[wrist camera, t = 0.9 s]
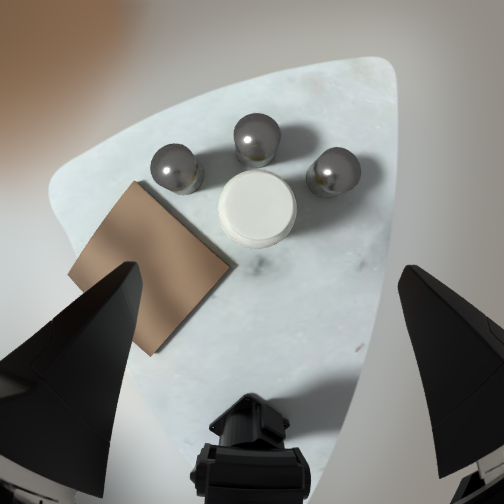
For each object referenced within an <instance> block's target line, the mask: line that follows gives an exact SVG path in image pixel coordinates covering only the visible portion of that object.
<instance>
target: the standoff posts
mask: <svg viewBox="0 0 504 504" xmlns="http://www.w3.org/2000/svg"><path fill="white" fill-rule="evenodd" d="M280 137H281V133H280V128H279V126H278V124H277V123H276V122H275V120H274V119H272V118H271V117H269V116H267V115H265V114H261V113H253V114H249V115H246V116H245V117H243V118H242V119H240V120H239V122H238V123H237V124H236V126H235V129H234V141H235V148H236V154H237V157H238V159H239V160H240V161H241V163H243V164H244V165H246V166H248V167H251V168H261V167H264V166H266V165H267V164H269V163H270V162H271V161H272V159H273V157H274V155H275V152H276V149H277V147H278V144H279V141H280ZM150 170H151V175H152V177H153V179H154V180H155V182H156V183H157V184H159V185H160V186H162V187H164V188H166V189H168V190H170V191H172V192H174V193H176V194H179V195H188V194H191V193H193V192H194V191H196V190H197V189H198V188H199V187H200V185H201V183H202V181H203V169H202V167H201V165H200V163H199V162H198V161H197V159H196V158H195V156H194V155H193V154H192V152H191V151H190V150H189V149H188V148H187V147H185V146H184V145H181V144H168V145H166V146H164V147H162V148H161V149H159V150H158V151H157V152H156V153H155V155H154V157H153V159H152V161H151V166H150ZM360 176H361V168H360V164H359V162H358V160H357V158H356V157H355V155H354V154H353V153H351V152H350V151H348V150H347V149H344V148H340V147H334V148H330V149H328V150H326V151H325V152H324V153H323V154H322V155H321V156H320V157H319V158H318V159H317V160H316V161H315V162H314V163H313V164H312V165H311V166H310V167H309V169H308V171H307V176H306V178H307V184H308V186H309V188H310V189H311V191H312V192H313V193H315V194H316V195H318V196H320V197H324V198H328V197H333V196H335V195H338V194H340V193H343V192H346V191H348V190H350V189H352V188H354V187H355V186H356V185H357V183H358V182H359V179H360Z"/></svg>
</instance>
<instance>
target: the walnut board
mask: <svg viewBox="0 0 504 504" xmlns="http://www.w3.org/2000/svg"><path fill="white" fill-rule="evenodd" d="M125 261H136V262H137V263H138V265H139V269H140V273H141V276H142V280H143V289H142V295H141V300H140V306H139V312H138V318H137V324H136V329H135V333H134V336H133V340H132V341H133V342H134V343H135V344H136V345H138V346H139V347H140V348H141V349H142V350H143V351H144V352H146V353H147V354H148V355H149V356H150V357H151V356H152V355H153V353H154V352H155V351H156V350H157V349H158V348H159V347H160V346H161V344H162V343H163V342H164V341H165V340H166V339H167V338H168V336H169V335H170V334H171V333H172V332H173V331H174V330H175V329H176V327H177V326H178V325H179V324H180V323H181V322H182V321H183V319H184V318H185V317H186V316H187V315H188V314H189V313H190V312H191V310H192V309H193V308H194V307H195V306H196V305H197V304H198V303H199V301H200V300H201V299H202V298H203V297H204V296H205V295H206V294H207V292H208V291H209V290H210V289H211V288H212V287H213V286H214V285H215V283H216V282H217V281H218V280H219V279H220V278H221V277H222V276H223V274H224V273H225V272H226V271H227V270H228V269H229V268H230V266H229V265H228V264H226V263H225V262H224V261H223V260H222V259H221V258H220V257H219V256H217V255H216V254H215V253H214V252H213V251H212V250H211V249H210V248H209V247H207V246H206V245H205V244H204V243H203V242H202V241H201V240H200V239H199V238H197V237H196V236H195V235H194V234H193V233H192V232H191V231H190V230H189V229H187V228H186V227H185V226H184V225H183V224H182V223H181V222H180V221H179V220H178V219H177V218H175V217H174V216H173V215H172V214H171V213H170V212H169V211H168V210H167V209H166V208H165V207H163V206H162V205H161V204H160V203H159V202H158V201H157V200H156V199H155V198H154V197H153V196H152V195H150V194H149V193H148V192H147V191H146V190H145V189H144V188H143V187H142V186H141V185H140V184H139V183H138V182H136V181H133V182H132V184H131V185H130V186H129V187H128V189H127V190H126V191H125V192H124V194H123V195H122V196H121V198H120V199H119V200H118V201H117V203H116V204H115V205H114V207H113V208H112V209H111V211H110V212H109V214H108V215H107V216H106V218H105V219H104V220H103V222H102V223H101V225H100V226H99V227H98V229H97V230H96V232H95V233H94V235H93V236H92V237H91V239H90V240H89V242H88V243H87V245H86V246H85V248H84V249H83V251H82V253H81V254H80V256H79V257H78V259H77V260H76V262H75V263H74V265H73V267H72V268H71V270H70V272H69V273H68V276H69V277H70V278H71V279H72V280H73V281H74V283H75V284H76V285H77V286H78V287H79V288H80V289H81V290H82V291H83V292H84V293H85V292H86V291H87V290H88V289H90V288H91V287H92V286H93V285H95V284H96V283H97V282H98V281H100V280H101V279H102V278H104V277H105V276H106V275H107V274H109V273H110V272H111V271H113V270H114V269H115V268H117V267H118V266H119V265H121V264H122V263H123V262H125Z"/></svg>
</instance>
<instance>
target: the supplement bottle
mask: <svg viewBox="0 0 504 504" xmlns="http://www.w3.org/2000/svg"><path fill="white" fill-rule="evenodd" d="M296 214H297V204H296V199H295V196H294V193H293V191H292V190H291V188H290V186H289V185H288V184H287V183H286V182H285V181H284V180H283V179H282V178H281V177H279V176H278V175H276V174H274V173H272V172H269V171H265V170H249V171H245V172H242V173H240V174H238V175H236V176H235V177H233V178H232V179H231V180H230V181H229V182H228V183H227V184H226V185H225V186H224V188H223V190H222V192H221V194H220V197H219V200H218V217H219V221H220V224H221V226H222V228H223V229H224V231H225V232H226V234H227V235H228V236H229V237H230V238H231V239H232V240H234V241H235V242H237V243H238V244H240V245H242V246H245V247H249V248H257V249H258V248H266V247H270V246H272V245H275V244H277V243H278V242H280V241H281V240H283V239H284V238H285V237H286V236H287V235H288V233H289V232H290V231H291V229H292V227H293V225H294V223H295V219H296Z"/></svg>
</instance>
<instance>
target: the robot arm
mask: <svg viewBox="0 0 504 504" xmlns="http://www.w3.org/2000/svg"><path fill="white" fill-rule="evenodd" d="M142 289H143V280H142V276H141V273H140V269H139V265H138V263H137V262H136V261H125V262H123V263H122V264H121V265H119V266H118V267H117V268H115V269H114V270H113V271H111V272H110V273H109V274H107V275H106V276H105V277H104V278H102V279H101V280H100V281H98V282H97V283H96V284H95V285H93V286H92V287H91V288H90V289H88V290H87V291H86V292H85V293H83V294H82V295H81V296H80V297H78V298H77V299H76V300H75V301H73V302H72V303H71V304H70V305H69V306H67V307H66V308H65V309H64V310H62V311H61V312H60V313H59V314H58V315H57V316H55V317H54V318H53V319H52V321H49V322H48V323H47V324H46V325H45V326H44V327H42V328H41V329H40V330H39V331H38V332H37V333H35V334H34V335H33V336H32V337H31V338H29V339H28V340H27V341H25V342H24V343H23V344H21V345H20V346H19V347H18V348H16V349H15V350H14V351H12V352H11V353H10V354H8V355H7V356H6V357H5V358H3V359H2V360H1V361H0V504H76V503H75V499H76V492H77V491H80V492H83V493H86V494H89V495H92V496H95V497H98V498H103V493H104V484H105V476H106V468H107V460H108V454H109V448H110V440H111V435H112V429H113V423H114V418H115V413H116V408H117V403H118V398H119V394H120V389H121V385H122V380H123V376H124V372H125V368H126V364H127V360H128V356H129V352H130V348H131V344H132V340H133V336H134V333H135V329H136V324H137V318H138V312H139V306H140V300H141V295H142ZM398 292H399V296H400V300H401V304H402V309H403V313H404V318H405V322H406V326H407V330H408V333H409V336H410V339H411V343H412V346H413V350H414V353H415V357H416V360H417V364H418V367H419V371H420V376H421V380H422V384H423V388H424V392H425V396H426V401H427V406H428V410H429V415H430V420H431V426H432V432H433V438H434V444H435V451H436V458H437V466H438V475H439V479H441V478H443V477H446V476H448V475H450V474H452V473H454V472H456V471H458V470H460V469H463V468H465V467H466V466H468V465H470V464H472V463H474V462H476V463H477V467H478V470H477V471H475V472H473V473H471V474H470V475H468V476H466V477H464V478H463V479H462V480H461V482H460V485H459V487H458V489H457V491H456V493H455V495H454V497H453V499H452V501H451V503H450V504H504V329H502V328H501V327H500V326H498V325H497V324H496V323H495V322H493V321H492V320H491V319H490V318H488V317H486V316H485V314H483V313H482V312H481V311H479V310H478V309H477V308H475V307H474V306H473V305H472V304H470V303H469V302H467V301H466V300H465V299H464V298H462V297H461V296H460V295H458V294H457V293H455V292H454V291H453V290H451V289H450V288H449V287H447V286H446V285H445V284H443V283H442V282H440V281H439V280H437V279H436V278H435V277H433V276H432V275H430V274H429V273H427V272H426V271H424V270H423V269H422V268H420V267H419V266H417V265H407V266H405V268H404V270H403V272H402V275H401V277H400V280H399V282H398ZM246 398H248V399H249V400H245V399H246ZM283 424H286V425H283ZM289 426H290V423H289V421H288V420H286V419H285V418H283V417H282V415H281V414H280V413H278V412H277V411H275V410H274V409H272V408H271V407H269V406H268V405H266V404H262V403H260V402H259V401H257V400H256V399H255V398H253V397H252V396H250V395H244V396H243V397H241V398H240V399H239V400H238V401H237V402H236V403H235V404H233V405H232V406H231V407H230V408H229V409H228V410H227V411H225V412H224V413H223V414H222V415H221V416H219V417H218V418H217V419H216V420H215V421H214V422H212V423H211V424H210V425H209V430H210V431H212V432H213V433H215V434H216V435H218V436H220V439H219V445H211V444H209V443H205V445H204V448H202V449H201V453H200V454H199V455H198V456H197V461H196V465H195V468H194V469H193V470H192V472H191V473H190V480H191V481H192V482H193V483H194V484H195V488H196V489H197V496H201V497H205V504H303V500H305V499H307V498H308V496H309V493H310V487H311V473H310V468H309V465H308V463H307V461H306V460H305V458H304V456H303V455H302V453H301V451H300V449H299V448H298V447H296V448H292V449H285V447H284V441H283V440H285V439H286V435H285V430H286V429H287V428H288V427H289ZM212 427H215V428H212Z"/></svg>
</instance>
